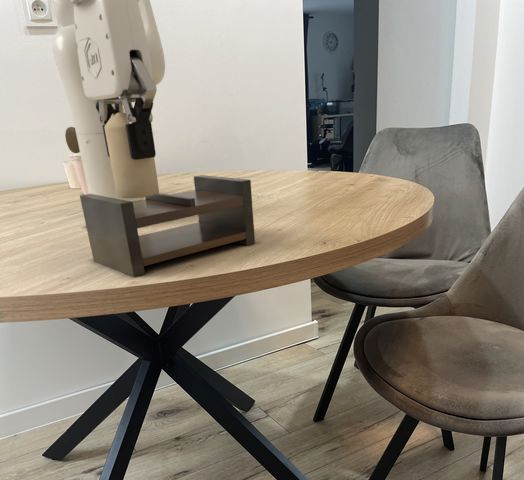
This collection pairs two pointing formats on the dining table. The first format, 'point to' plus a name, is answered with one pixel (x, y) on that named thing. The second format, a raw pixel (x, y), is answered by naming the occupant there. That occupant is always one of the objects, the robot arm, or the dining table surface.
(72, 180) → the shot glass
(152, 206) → the rack
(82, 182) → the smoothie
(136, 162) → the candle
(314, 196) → the dining table surface
